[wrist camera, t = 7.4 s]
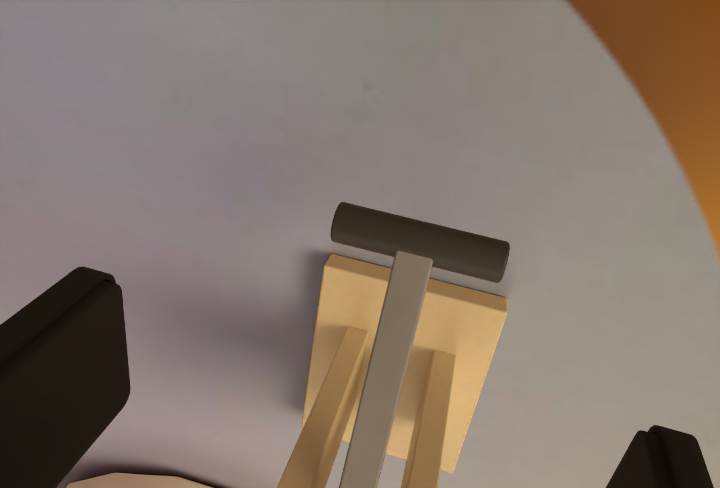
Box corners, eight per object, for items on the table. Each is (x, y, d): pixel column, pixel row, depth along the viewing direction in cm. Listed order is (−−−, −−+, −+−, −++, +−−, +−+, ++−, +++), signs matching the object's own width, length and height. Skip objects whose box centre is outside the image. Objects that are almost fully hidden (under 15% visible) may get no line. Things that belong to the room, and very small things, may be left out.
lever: (348, 200, 18) (331, 203, 16) (506, 238, 17) (514, 247, 15) (265, 566, 20) (240, 618, 17) (405, 613, 19) (398, 674, 17)
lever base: (331, 252, 26) (193, 480, 15) (508, 297, 25) (503, 580, 14) (307, 412, 31) (190, 675, 19) (454, 456, 29) (419, 760, 18)
